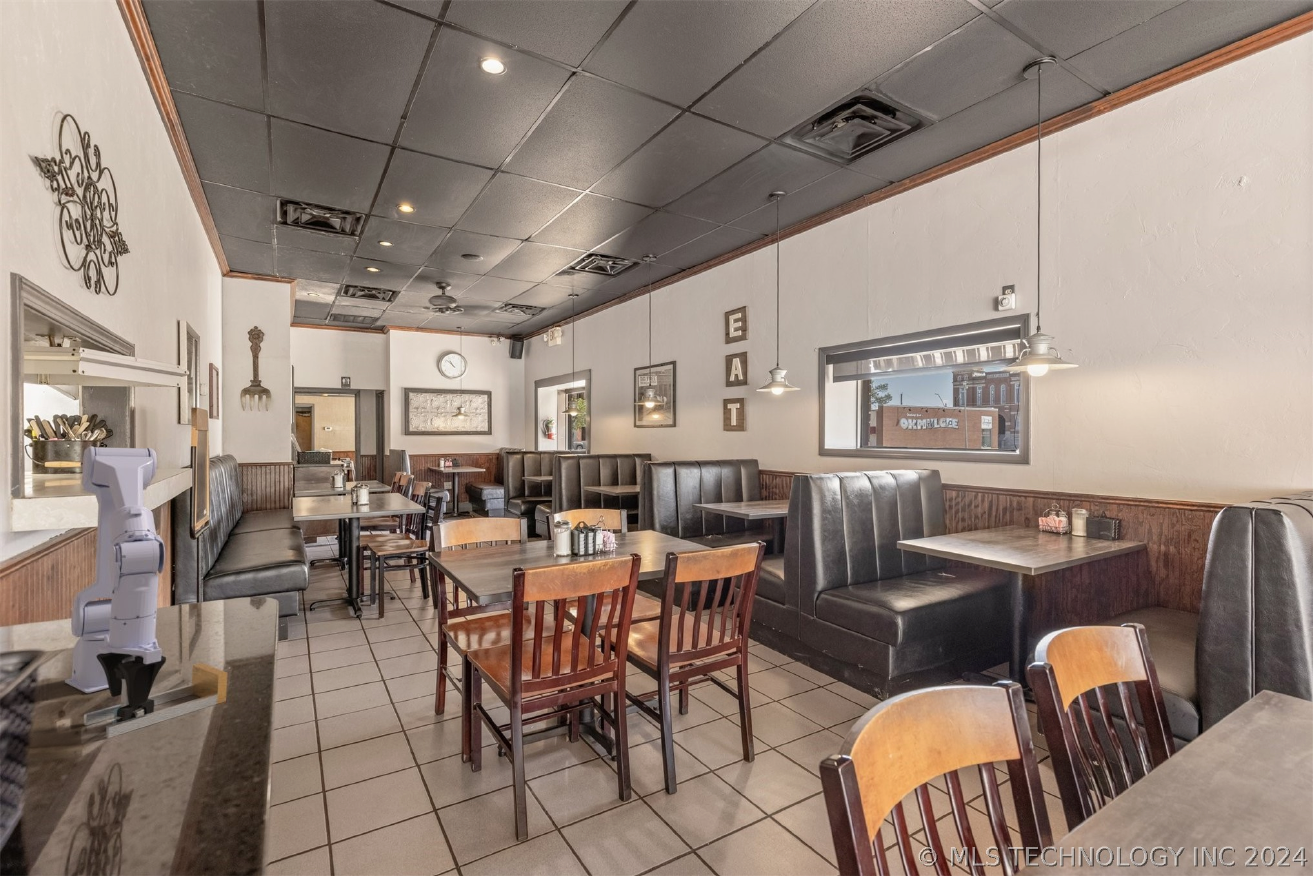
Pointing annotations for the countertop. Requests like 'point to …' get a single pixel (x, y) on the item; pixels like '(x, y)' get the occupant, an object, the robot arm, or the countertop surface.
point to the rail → (204, 684)
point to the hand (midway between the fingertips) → (128, 699)
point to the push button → (126, 710)
